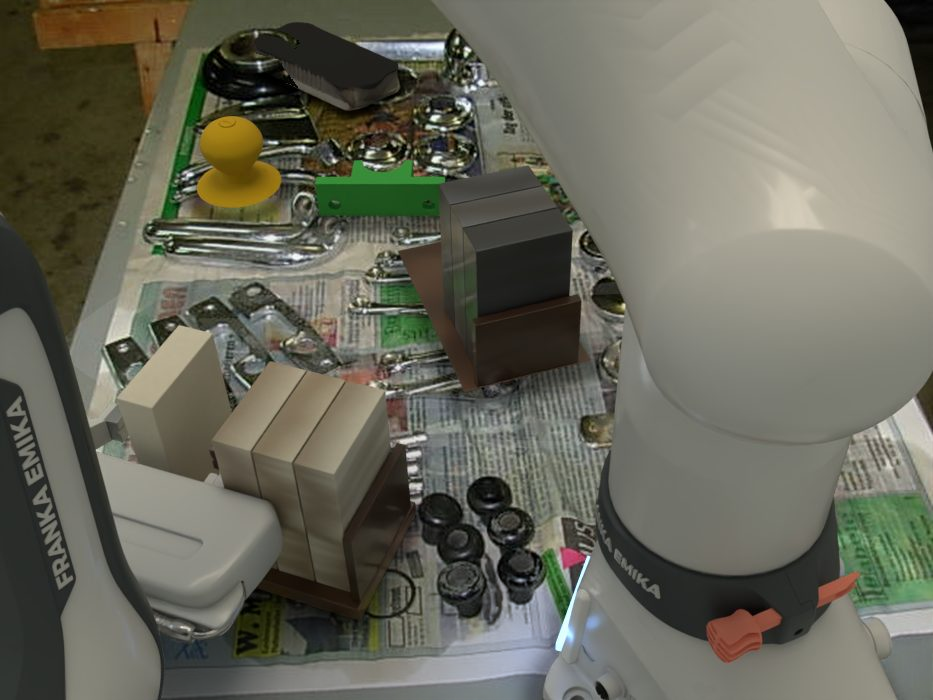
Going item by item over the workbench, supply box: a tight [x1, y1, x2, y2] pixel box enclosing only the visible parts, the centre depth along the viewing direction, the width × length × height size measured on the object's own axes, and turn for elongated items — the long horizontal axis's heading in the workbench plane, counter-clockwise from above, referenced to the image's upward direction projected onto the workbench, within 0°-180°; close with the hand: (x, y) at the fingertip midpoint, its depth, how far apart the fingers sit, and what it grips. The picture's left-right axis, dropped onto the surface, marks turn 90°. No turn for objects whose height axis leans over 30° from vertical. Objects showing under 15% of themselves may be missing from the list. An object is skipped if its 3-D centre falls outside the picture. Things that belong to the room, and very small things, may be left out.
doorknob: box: [196, 115, 282, 209], centre depth 100 cm, size 8×8×8 cm
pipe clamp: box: [314, 159, 446, 217], centre depth 98 cm, size 11×4×5 cm, turn 88°
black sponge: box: [252, 21, 401, 112], centre depth 116 cm, size 16×8×4 cm, turn 48°
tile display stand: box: [212, 360, 417, 622], centre depth 69 cm, size 16×9×12 cm, turn 69°
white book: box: [116, 324, 233, 482], centre depth 71 cm, size 2×7×11 cm, turn 159°
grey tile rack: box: [397, 164, 591, 393], centre depth 85 cm, size 18×10×13 cm, turn 18°
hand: (180, 426), depth 71 cm, fingers open, 7 cm apart
